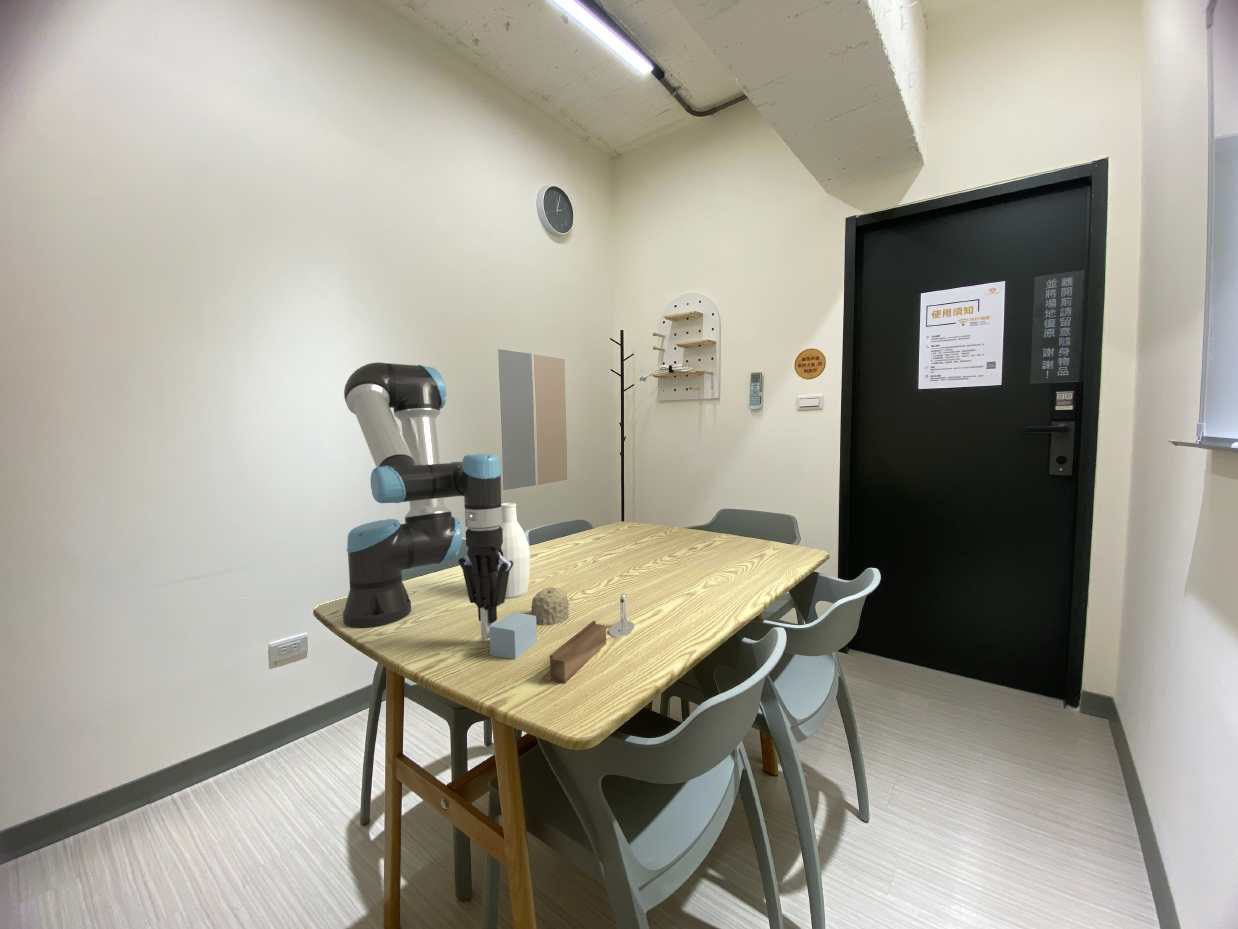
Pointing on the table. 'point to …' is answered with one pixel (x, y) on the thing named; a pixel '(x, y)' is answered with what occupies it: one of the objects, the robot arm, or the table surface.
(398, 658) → the table surface
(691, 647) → the table surface
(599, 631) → the brown wooden bar
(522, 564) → the bottle
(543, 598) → the sponge
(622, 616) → the metal post stand
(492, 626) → the block
